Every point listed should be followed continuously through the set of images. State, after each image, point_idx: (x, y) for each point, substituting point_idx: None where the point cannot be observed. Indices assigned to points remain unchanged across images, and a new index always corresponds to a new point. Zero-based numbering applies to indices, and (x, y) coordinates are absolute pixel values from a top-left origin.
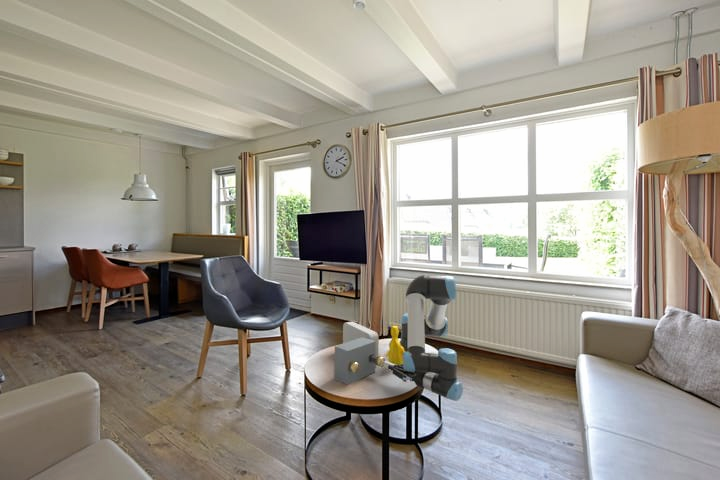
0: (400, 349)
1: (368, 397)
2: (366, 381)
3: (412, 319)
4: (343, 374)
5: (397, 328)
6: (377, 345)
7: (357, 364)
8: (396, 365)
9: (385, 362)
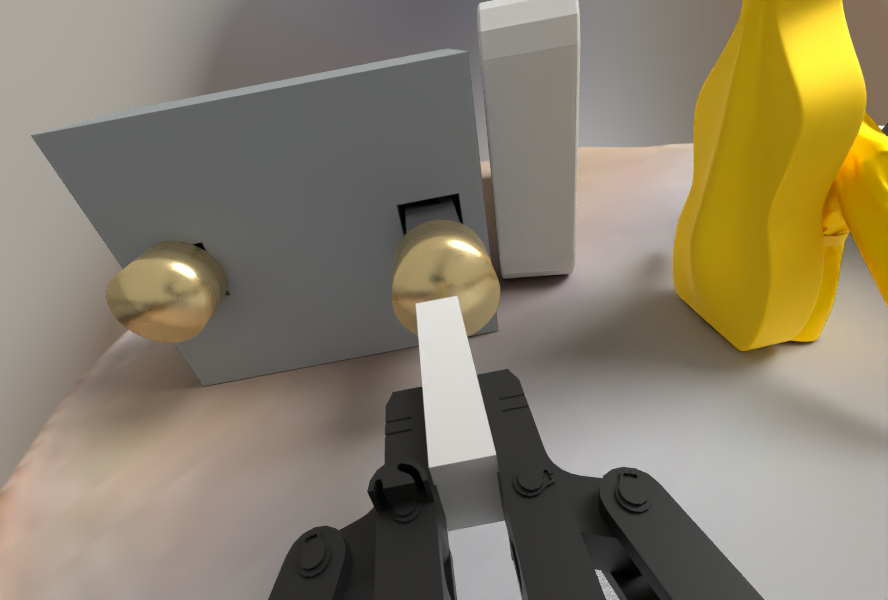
0: (833, 165)
1: None
2: (330, 406)
3: None
4: None
5: None
6: (565, 121)
7: (150, 277)
8: (496, 463)
9: (418, 321)
